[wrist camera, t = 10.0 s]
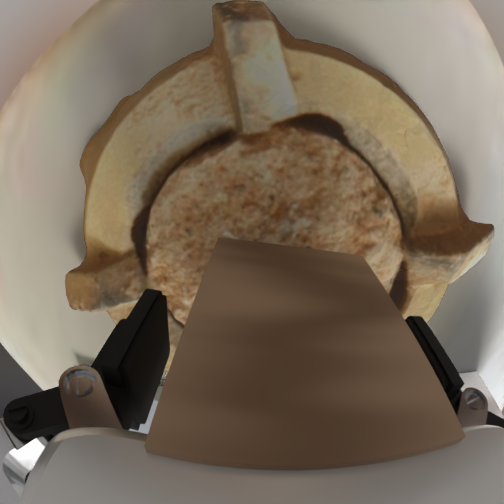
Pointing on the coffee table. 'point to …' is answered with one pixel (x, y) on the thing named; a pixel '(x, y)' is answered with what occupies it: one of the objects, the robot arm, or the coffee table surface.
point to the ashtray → (267, 174)
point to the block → (297, 368)
